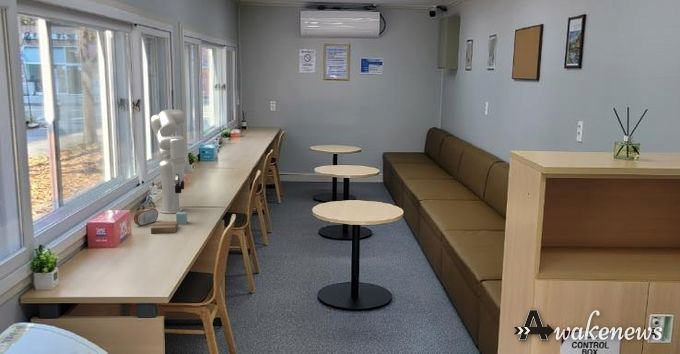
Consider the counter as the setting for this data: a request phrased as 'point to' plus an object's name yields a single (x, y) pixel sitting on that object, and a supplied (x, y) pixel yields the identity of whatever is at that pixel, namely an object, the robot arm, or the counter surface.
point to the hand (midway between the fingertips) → (179, 191)
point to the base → (164, 227)
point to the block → (181, 218)
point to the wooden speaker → (146, 216)
